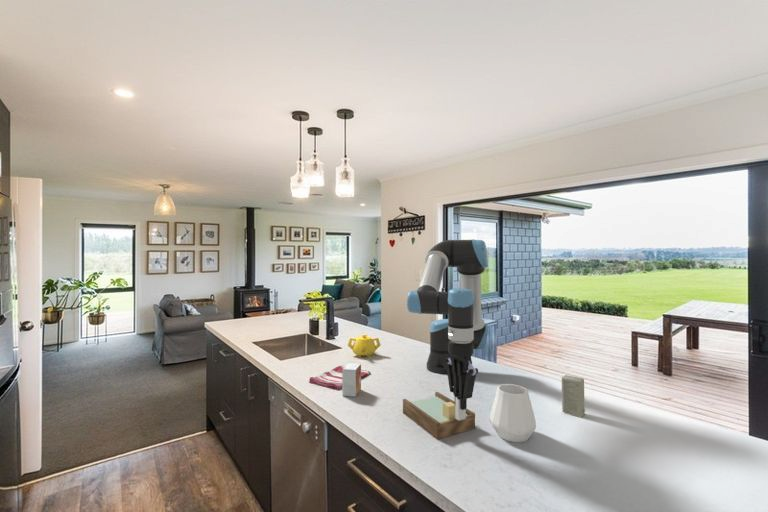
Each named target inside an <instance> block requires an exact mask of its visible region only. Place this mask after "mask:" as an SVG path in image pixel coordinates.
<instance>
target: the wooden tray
mask: <svg viewBox="0 0 768 512" xmlns="http://www.w3.org/2000/svg"><path fill="white" fill-rule="evenodd" d="M434 393H435V394H434V397H436V396H437V397H438V398H440V399H442V400H444V401H445V402H452V403H454V404H455V400H453V399H450V398H449V397H447V396H445V395H444V394H442V393H441V392H439V391H435V392H434ZM411 402H412V401H410V400H408V399H406V398H403V399H402V414H403V415H405V416H406V417H407V418H408V419H410V420H411V421H412V422H413V423H415V424H416V425H417V426H419V427H420V428H422V429H423V430H424V431H426V432H427V433H428V434H429V435H431V436H432V438H435V439H436V440H441V439H444V438H446V437H450V436H453V435H458V434H462V433H464V432H468V431H471V430H475V429H476V413H475V412H473V411H472V410H470V409H468V408H466V414H467V415H466V419H462V420H457V419H451V420H447V421H444V422H438V421H437V420H435V419H434V418H432V417H431V416H430V415H428V414H427V413H425V412H424V411H422V410H421V409H419V408H418V407H417V406H415V405H414V404H412V403H411Z"/></svg>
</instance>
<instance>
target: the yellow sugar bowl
mask: <svg viewBox="0 0 768 512" xmlns="http://www.w3.org/2000/svg"><path fill="white" fill-rule="evenodd" d="M352 342H353V344H352ZM375 342H376V344H375ZM347 346H348V347H349V348H350V349H351V350H352V352H353V354H354V355H356V358H361V357H364V356H366V357H367V358H371V355H373V354H375V352H376V350H378V349H379V348H380V347H381V342H380V339H379V337H373V338H372V337H371V336H368V335H367V334H365V333H364V334H361V336H357V337H356V338H355V337H349V340H348V343H347Z"/></svg>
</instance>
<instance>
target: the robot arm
mask: <svg viewBox="0 0 768 512" xmlns="http://www.w3.org/2000/svg"><path fill="white" fill-rule="evenodd" d="M424 263H425V266H424V270H423V271H422V272H423V273H422V275H421V278H420V281H419V284H418V286H417V289H416V290H410V291H409V292H408V293H407V295H406V296H407V298H406V308H407V311H408V312H409V313H410V314H411V313H412V314H419V315H420V314H425V315H426V314H427V315H446V316H447V318H443V319H435V320H433V321H432V322H430V326H429V327H430V329H429V333H430V335H429V338H430V339H429V341H430V342H429V348H430V350H429V351H430V352H429V354H428V358H427V362H426V369H427V371H430V372H432V373H436V374H437V373H438V374H447V380H448V386H449V387H448V388H449V391H450V393H453V396H454V402H455V419H457V420H462V419H466V408H467V406H468V405H467V400H468V399H471V398H472V397H473V392H474V388H475V382H476V377H477V374H478V373H479V369H478V367H476V368H475V367H474V366H473V360H472V356H473V354H474V351H477V350H484V349H486V347H487V342H488V333H489V325H488V324H486V322H485V320H484V319H483V318H482V274H483V273H484V272H485V269H487V268H488V267H489V258H488V251H487V245H486V243H485V241H484V240H482V239H473V238H472V239H447V240H442V241H441V242H439V243H437V244H435V245H434V246H433V247H431V248H430V250H428V252H427V254H426V256H425V261H424ZM447 268H456V272H457V273H458V274H459V275H460V288H451V289H449V290H448V291H440V290H441V289H440V288H441V284H442V279H443V276H444V272H445V270H446V269H447ZM467 409H468V408H467Z"/></svg>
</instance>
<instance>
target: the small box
mask: <svg viewBox="0 0 768 512" xmlns="http://www.w3.org/2000/svg"><path fill="white" fill-rule="evenodd" d="M344 366H345V367H344V368H343V369H342V388H341V390H342V391H341V392H342V396H343V397H355V398H356V397H357V396H358V394H360V392H361V390H362V379H361V370H362V364H361V363H350V362H349V363H347V364H346V365H344Z"/></svg>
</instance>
